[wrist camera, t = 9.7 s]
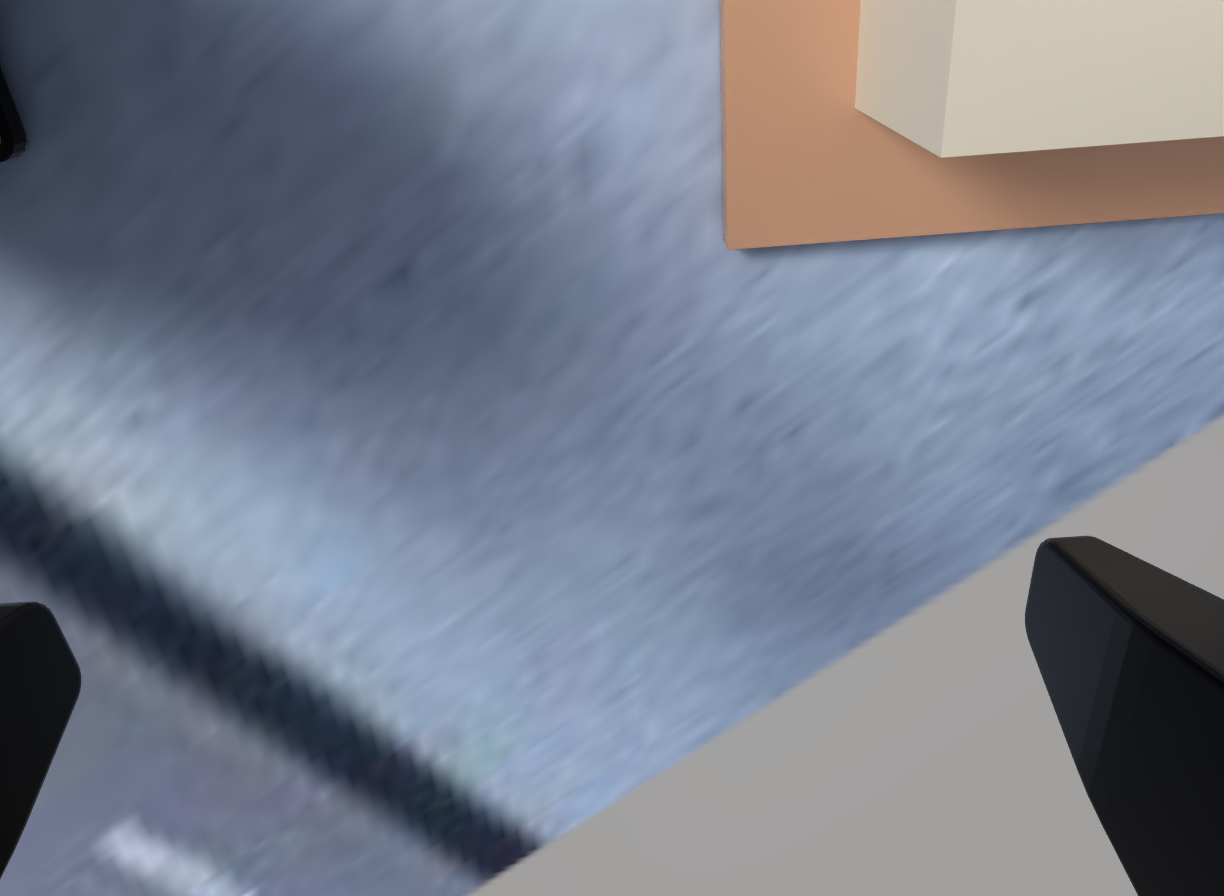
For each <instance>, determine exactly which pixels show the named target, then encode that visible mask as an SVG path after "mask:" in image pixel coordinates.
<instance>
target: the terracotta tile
mask: <svg viewBox="0 0 1224 896" xmlns="http://www.w3.org/2000/svg"><path fill="white" fill-rule="evenodd" d="M860 3H861V0H719V8H720V67H721V127H722V186H723V240H724V242H725V245H726V247H727V250H732V249H746V248H759V247H773V246H786V245H800V244H813V243H827V242H840V241H854V240H867V239H881V238H894V237H908V236H922V235H935V234H949V233H962V232H976V231H989V230H1003V229H1016V228H1030V227H1043V226H1057V225H1070V224H1084V223H1098V222H1111V221H1125V220H1138V219H1152V218H1165V217H1179V216H1192V215H1206V214H1219V213H1224V136H1219V137H1206V138H1193V139H1180V140H1167V141H1154V142H1141V143H1128V144H1114V145H1101V146H1088V147H1075V148H1062V149H1049V150H1036V151H1023V152H1010V153H997V154H983V155H970V156H957V157H944V158H940V157H939V156H937V155H935V154H934V153H932V152H930V151H928V150H927V149H925V148H923V147H921V146H920V145H918V144H916V143H914V142H913V141H911V140H909V139H908V138H906V137H904V136H902V135H901V134H899V133H897V132H895V131H894V130H892V129H890V128H889V127H887V126H885V125H883V124H882V123H880V122H878V121H876V120H875V119H873V118H871V117H870V116H868V115H866V114H864V113H863V112H861V111H859V110H857V109H856V108H855V97H856V78H857V59H858V41H859V22H860Z"/></svg>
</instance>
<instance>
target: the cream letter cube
mask: <svg viewBox="0 0 1224 896" xmlns="http://www.w3.org/2000/svg"><path fill="white" fill-rule="evenodd" d="M855 108H856V109H857V110H859V111H861V112H863V113H864V114H866V115H868V116H870V117H871V118H873V119H875V120H876V121H878V122H880V123H882V124H883V125H885V126H887V127H889V128H890V129H892V130H894V131H895V132H897V133H899V134H901V135H902V136H904V137H906V138H908V139H909V140H911V141H913V142H914V143H916V144H918V145H920V146H921V147H923V148H925V149H927V150H928V151H930V152H932V153H934V154H935V155H937V156H939V157H940V158H944V157H957V156H970V155H983V154H997V153H1010V152H1023V151H1036V150H1049V149H1062V148H1075V147H1088V146H1101V145H1114V144H1128V143H1141V142H1154V141H1167V140H1180V139H1193V138H1206V137H1219V136H1224V0H861V3H860V22H859V41H858V59H857V78H856V97H855Z"/></svg>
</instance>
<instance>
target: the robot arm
mask: <svg viewBox="0 0 1224 896" xmlns="http://www.w3.org/2000/svg"><path fill="white" fill-rule="evenodd" d="M0 136H1V145H0V162H3V161H7V160H10V159H13V158H16V157H19V156H20V155H21V154H22V153H23V152H24V151H25V147H26V143H27V140H26V135H25V130H24V128H23V125H22V123H21V120H20V117H19V115H18V112H17V109H16V107H15V104H14V101H13V99H12V96H11V94H10V91H9V88H8V86H7V83H6V80H5V78H4V75H3V73H2V70H1V67H0ZM1025 626H1026V632H1027V637H1028V640H1029V643H1030V645H1031V648H1032V651H1033V653H1034V656H1035V659H1036V661H1037V664H1038V667H1039V669H1040V672H1041V674H1042V677H1043V680H1044V683H1045V685H1046V688H1047V691H1048V693H1049V696H1050V699H1051V701H1052V704H1053V706H1054V709H1055V712H1056V714H1057V717H1058V720H1059V722H1060V725H1061V727H1062V730H1063V733H1064V736H1065V738H1066V741H1067V743H1068V746H1069V749H1070V751H1071V754H1072V757H1073V759H1074V762H1075V765H1076V767H1077V770H1078V772H1079V775H1080V777H1081V780H1082V782H1083V785H1084V787H1085V789H1086V792H1087V794H1088V797H1089V799H1090V801H1091V803H1092V805H1093V807H1094V809H1095V811H1096V813H1097V815H1098V817H1099V820H1100V822H1101V824H1102V825H1103V828H1104V830H1105V832H1106V834H1107V835H1108V837H1109V839H1110V841H1111V843H1112V845H1113V847H1114V849H1115V851H1116V853H1117V855H1118V857H1119V859H1120V861H1121V863H1122V865H1123V867H1124V869H1125V871H1126V873H1127V875H1128V877H1129V879H1130V881H1131V883H1132V884H1133V886H1134V888H1135V890H1136V892H1137V894H1138V896H1224V600H1223V599H1221V598H1219V597H1217V596H1215V595H1213V594H1211V593H1209V592H1207V591H1205V590H1203V589H1201V588H1199V587H1196V586H1195V585H1193V584H1190V583H1188V582H1186V581H1184V580H1182V579H1180V578H1178V577H1176V576H1174V575H1172V574H1170V573H1168V572H1166V571H1163V570H1162V569H1160V568H1158V567H1155V566H1153V565H1151V564H1149V563H1147V562H1145V561H1143V560H1141V559H1139V558H1137V557H1135V556H1133V555H1131V554H1129V553H1127V552H1125V551H1123V550H1121V549H1118V548H1116V547H1114V546H1112V545H1110V544H1108V543H1106V542H1104V541H1102V540H1100V539H1098V538H1095V537H1091V536H1078V537H1077V536H1076V537H1062V538H1049V539H1046V540H1045V541H1044V542H1042V543H1041V544H1040V546H1039V548H1038V549H1037V553H1036V556H1035V561H1034V567H1033V573H1032V578H1031V583H1030V589H1029V594H1028V600H1027V605H1026V612H1025ZM80 688H81V672H80V668H79V665H78V663H77V661H76V659H75V657H74V655H73V653H72V651H71V649H70V647H69V645H68V643H67V640H66V638H65V636H64V634H63V632H62V630H61V628H60V626H59V624H58V622H57V620H56V618H55V616H54V614H53V613H52V611H51V610H50V609H49V608H48V607H46V606H45V605H44V604H42V603H38V602H18V603H3V604H0V879H1V877H2V875H3V873H4V871H5V869H6V867H7V865H8V863H9V861H10V859H11V857H12V854H13V852H14V850H15V848H16V846H17V844H18V842H19V839H20V837H21V835H22V832H23V830H24V828H25V826H26V823H27V821H28V818H29V816H30V814H31V811H32V809H33V806H34V804H35V801H36V799H37V797H38V794H39V792H40V789H41V787H42V784H43V782H44V779H45V777H46V775H47V772H48V770H49V767H50V765H51V762H52V760H53V757H54V755H55V753H56V750H57V748H58V745H59V743H60V740H61V738H62V736H63V733H64V731H65V728H66V726H67V723H68V721H69V718H70V716H71V714H72V711H73V709H74V706H75V704H76V701H77V699H78V696H79V693H80Z"/></svg>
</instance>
